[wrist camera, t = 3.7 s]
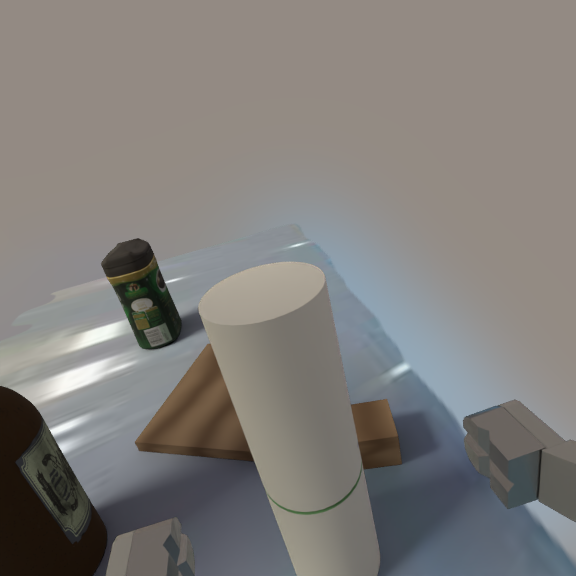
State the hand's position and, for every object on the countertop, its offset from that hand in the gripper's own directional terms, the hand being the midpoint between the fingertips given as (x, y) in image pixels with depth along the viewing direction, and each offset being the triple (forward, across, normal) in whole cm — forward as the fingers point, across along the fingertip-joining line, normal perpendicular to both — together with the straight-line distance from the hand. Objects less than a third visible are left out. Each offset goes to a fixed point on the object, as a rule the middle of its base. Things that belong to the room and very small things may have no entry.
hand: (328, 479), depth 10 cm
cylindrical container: (+12, 0, +25) cm, 28 cm away
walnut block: (+21, -6, +25) cm, 33 cm away
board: (+36, +6, +24) cm, 44 cm away
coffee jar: (+60, +20, +24) cm, 67 cm away
